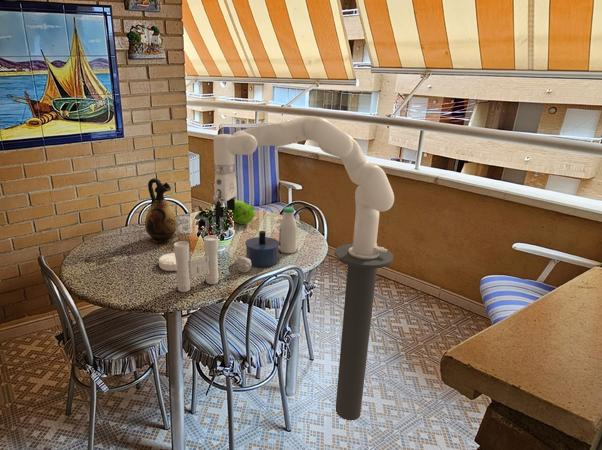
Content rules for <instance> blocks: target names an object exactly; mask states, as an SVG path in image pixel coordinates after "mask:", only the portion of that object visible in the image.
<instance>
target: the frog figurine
mask: <svg viewBox="0 0 602 450" xmlns="http://www.w3.org/2000/svg"><path fill="white" fill-rule="evenodd" d="M234 262H235V265H236V266H237V269H238V270H239V272H241V273H247V272H249V271H250V269H251V267H252V263H251V260H250V259H248V258H246V256H244V255H241V256H240V255H238V256H237V258H236V259H235V261H234Z"/></svg>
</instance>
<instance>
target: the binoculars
mask: <svg viewBox="0 0 602 450" xmlns="http://www.w3.org/2000/svg"><path fill="white" fill-rule="evenodd" d="M203 249H204V254H205V255H204V256H201V257H197V258H191V259H190V243H189V242H188V241H186V240H185V241H184V240H181V241H177V242H174V243H173V253H174V254H175V258H176V268H177V271H176V280H177V281H176V286H177V290H178V292H181V293H186V292H189V291H190V290H191V279H193V278H198V277H202V276H204V275H205V281H206V283H207V284H208V285H215V284H218V283H219V278H220V277H219V263H218V262H219V260H218V251H219V237H218V236H217V235H214V234H210V235H205V236H204V237H203Z"/></svg>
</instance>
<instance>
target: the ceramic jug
mask: <svg viewBox="0 0 602 450" xmlns="http://www.w3.org/2000/svg"><path fill="white" fill-rule="evenodd" d="M153 184H155V185H156V187H155V188H153ZM147 187H148V192H149V197H150V199H151V200H150V201H151V202H150V207H149V209H148V211H147V213H146V216H145V220H144V227H145V231H146V233H147V234H148V236H149V237H150V238H151V240H152V239H153V240H152V242H154V243H157V244H163V243H164V244H165V243H169V242H171V240H172V238H173V236H174V235H175V233H176V231H177V228H178V221H177V217H176V214H175V212H174V210H173V208H172V207H171V205H170V204H169V203H168V201H167V200H166V198H165V196H164V194H165V193H167V192H170V191H171V190H172V187H171V186H170V184H169V183H168V182H165V183H162V182H161V180H160V179H158V178H156V177H154V178H150V179H149V180H148V182H147ZM155 193H156V194H155Z"/></svg>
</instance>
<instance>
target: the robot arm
mask: <svg viewBox="0 0 602 450" xmlns="http://www.w3.org/2000/svg"><path fill="white" fill-rule="evenodd" d="M309 140H310V141H313V142H315V143H317V145H318V148H319V149H320V150H321V151H322V152H323V153H326V154H328V155H331V156H334V157H336V158H339V159H340V161H341V162H342V165H343V166H344V168H345V171H346V173H347V175H348V177H349V179H350V181H351V182H352V183H353V184H355V185H357V187H356V189H355V192H354V200H355V201H354V202H355V218H354V225H353V226H354V227H353V238H352V243H353V247H351V248H350V249H349V251H348V252H349V254H350V255H351V256H353V257H356V258H359V259H375V258H377V257H378V256H379V253H385V254H387V250H388V249H387V248H385V247H383V246H379V245H378V243H377V240H378V234H379V233H378V231H379V224H380V223H379V222H380V212H387V211H389V210H390V209H391V208H392V207H393V205H394V203H395V193H394V191H393V188H392V185H391V183H390V181H389V178H388V177H387V174H386V172H385V170H384V169H383V168H382V167H380V166H379V165H377V164H374V163H371V162H370V161H368V159H367V158H366V155H365V154H364V151H363V149H362V147H361V146H360V144H359V143H358V142H357V141H356V140H355V138H353V136H351V135H349V134H348V133H346V132H345V131H343V130H341V128H339V127H337V126H336V125H334V123H331V121H330V120H327V119H326V118H323V117H320V116H315V115H309V116H308V115H307V116H302V117H298V118H295V119H289V120H286V121H280V122H277V123H271V124H265V125H259V126H253V127H249V128H245V129H240V130H237V131H236V132H234V133H233V134H230V133H219V134H216V135H214V137H213V168H214V169H213V170H214V171H213V172H214V188H213V189H214V194H213V197H212V200H213V204H214V208H215V209H214V210H215V212H214V213H215V217H217V218H224V217H225V208H224V202H226V208H227V209H229V210H235V200H236V196H237V193H238V192H237V191H238V190H237V178H236V168H235V167H236V162H235V161H236V160H235V159H236V158H235V155H240V156H242V155H243V156H249V155H253V153H255V152H256V150H257V149H258V147H263V146H269V147H270V146H271V147H284V146H288V145H292V144H296V143H300V142H305V141H309ZM227 209H226V210H227ZM378 246H379V247H378Z"/></svg>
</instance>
